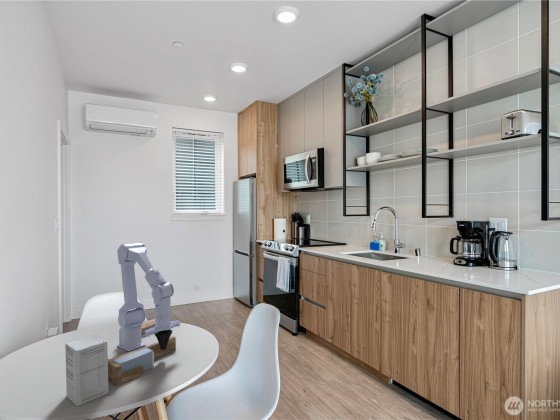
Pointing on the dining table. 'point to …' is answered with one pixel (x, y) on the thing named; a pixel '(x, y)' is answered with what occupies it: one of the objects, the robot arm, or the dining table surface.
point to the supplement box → (86, 369)
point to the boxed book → (136, 360)
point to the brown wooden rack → (119, 378)
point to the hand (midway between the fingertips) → (163, 349)
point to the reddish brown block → (147, 326)
